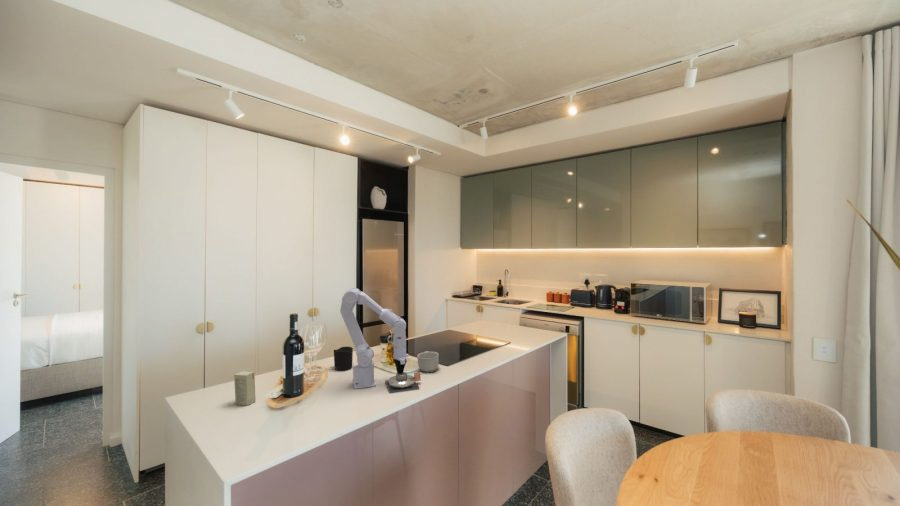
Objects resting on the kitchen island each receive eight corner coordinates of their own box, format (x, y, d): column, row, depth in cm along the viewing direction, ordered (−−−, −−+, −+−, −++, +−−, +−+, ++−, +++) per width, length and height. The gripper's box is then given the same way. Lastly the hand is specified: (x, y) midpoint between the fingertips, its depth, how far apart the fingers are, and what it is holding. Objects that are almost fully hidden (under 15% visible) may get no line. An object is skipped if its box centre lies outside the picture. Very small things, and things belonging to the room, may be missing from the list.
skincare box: (256, 401, 145) (255, 371, 144) (247, 406, 141) (246, 375, 140) (243, 399, 146) (242, 370, 146) (234, 404, 142) (233, 374, 142)
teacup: (438, 373, 174) (438, 357, 174) (416, 373, 174) (416, 357, 174) (439, 364, 188) (439, 349, 188) (419, 364, 188) (419, 349, 188)
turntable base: (389, 393, 152) (389, 390, 151) (385, 382, 164) (385, 379, 164) (419, 389, 156) (419, 386, 156) (412, 378, 168) (412, 376, 168)
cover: (397, 382, 156) (397, 375, 156) (395, 378, 161) (395, 372, 161) (408, 380, 158) (408, 374, 158) (405, 377, 163) (405, 370, 163)
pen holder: (334, 366, 186) (333, 347, 186) (352, 364, 189) (352, 345, 189) (333, 372, 177) (333, 352, 177) (353, 370, 180) (353, 350, 180)
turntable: (389, 389, 152) (389, 381, 152) (385, 379, 163) (385, 372, 163) (423, 384, 157) (423, 377, 157) (417, 375, 168) (416, 368, 168)
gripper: (411, 349, 157) (412, 379, 157) (405, 340, 171) (405, 368, 171) (395, 350, 155) (396, 381, 155) (390, 342, 169) (390, 370, 169)
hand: (400, 375), depth 163 cm, fingers closed
